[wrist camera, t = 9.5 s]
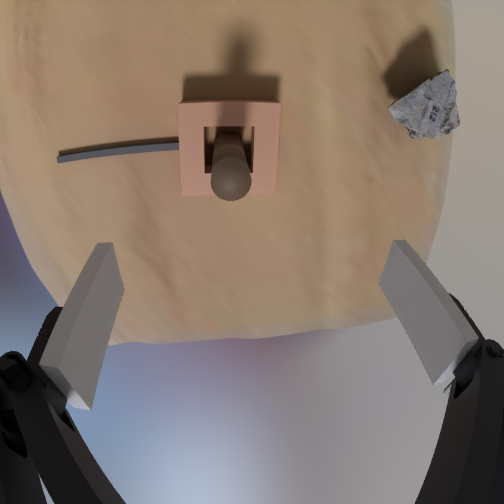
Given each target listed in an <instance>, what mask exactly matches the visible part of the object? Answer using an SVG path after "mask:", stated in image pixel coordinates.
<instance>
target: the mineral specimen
mask: <svg viewBox="0 0 504 504" xmlns="http://www.w3.org/2000/svg"><path fill="white" fill-rule="evenodd" d="M389 112H390V113H391V114H392V115H393V117H394V119H393V121H395V122H397V123H399V124H401V125H404V127H406V128H407V129H408V132H410V134H409V136H410V138H414V139H420V138H422V137H428V138H436V137H442V135H446V134H449V133H450V132H451V130H454V129H456V128H457V126H459V124H460V120H459V119H458V118H459V116H458V110H457V105H456V90H455V81H454V80H453V79H452V77H451V76H450V74H449V70H448V69H447V70H445V71H444V72H440V73H438V74H437V75H436V76H434V77H432V78H429V79H428V80H426V81H424V82H421V84H420V85H419V86H418V87H416V88H414V89H413V90H411V91H410V92H409V93H408V94H406V95H405V96H403V97H401V98H399V99H397V100H396V101H394V102H393V103H392V104H391V105H390V106H389Z"/></svg>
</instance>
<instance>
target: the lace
mask: <svg viewBox="0 0 504 504" xmlns="http://www.w3.org/2000/svg"><path fill="white" fill-rule="evenodd" d="M168 150H179V142H166V143H153V144H141V145H131V146H122V147H113V148H105V149H98V150H91V151H84V152H78V153H71V154H66V155H60V156H58V157H57V162H58V163H62V162H68V161H75V160H81V159H88V158H96V157H103V156H112V155H121V154H130V153H141V152H153V151H168Z"/></svg>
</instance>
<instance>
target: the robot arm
mask: <svg viewBox="0 0 504 504" xmlns="http://www.w3.org/2000/svg"><path fill="white" fill-rule="evenodd" d="M378 284H379V285H380V287H381V289H382V290H383V292H384V294H385V295H386V297H387V299H388V301H389V302H390V304H391V306H392V308H393V309H394V311H395V313H396V315H397V316H398V318H399V320H400V322H401V323H402V325H403V327H404V329H405V331H406V333H407V335H408V337H409V338H410V340H411V342H412V344H413V345H414V348H415V350H416V352H417V354H418V356H419V357H420V360H421V362H422V363H423V366H424V367H425V369H426V372H427V374H428V376H429V378H430V380H431V382H432V384H433V385H435V384H438V383H440V382H444V381H446V380H447V379H448V377H449V376H450V375H451V374H452V373H454V375H455V379H453V381H452V382H451V383H450V384H449V385H448V386H447V387H446V388H445V390H444V392H443V393H444V394H445V393H446V392H447V391H448V390H449V389H450V388H451V390H450V392H449V394H448V395H449V399H448V404H447V408H446V412H445V417H444V420H443V424H442V428H441V432H440V435H439V439H438V442H437V445H436V448H435V452H434V455H433V458H432V461H431V464H430V466H429V469H428V472H427V475H426V477H425V480H424V483H423V485H422V488H421V490H420V492H419V495H418V497H417V500H416V502H415V504H504V349H502V347H501V346H500V345H499V344H498V343H497V342H495V341H494V340H491V339H488V340H485V338H484V337H483V335H482V334H481V332H480V331H479V329H478V328H477V326H476V325H475V323H474V322H473V320H472V319H471V318H470V317H469V315H468V313H467V312H466V310H464V308H463V306H462V305H461V303H460V302H459V301H458V300H457V299H456V298H455V297H454V296H452V295H451V294H450V293H447V291H446V290H445V289H444V287H443V286H442V285H441V283H440V282H439V281H438V279H437V278H436V277H435V275H434V274H433V273H432V272H431V270H430V269H429V268H428V267H427V265H426V264H425V263H424V262H423V260H422V259H421V258H420V257H419V255H418V254H417V253H416V252H415V251H414V249H413V248H412V247H411V246H410V245H409V244H408V242H407V241H406V240H393V243H392V246H391V249H390V252H389V255H388V258H387V261H386V264H385V267H384V270H383V272H382V275H381V278H380V281H379V283H378ZM124 290H125V289H124V286H123V282H122V278H121V275H120V271H119V267H118V263H117V259H116V255H115V251H114V247H113V243H97V245H96V246H95V248H94V250H93V252H92V253H91V255H90V257H89V259H88V260H87V262H86V264H85V266H84V268H83V270H82V271H81V273H80V275H79V277H78V279H77V281H76V283H75V285H74V287H73V289H72V291H71V293H70V295H69V297H68V299H67V301H66V303H65V305H64V307H55V308H54V309H53V310H52V311H51V312H50V313H49V314H48V315H47V316H46V319H45V321H44V323H43V325H42V328H41V329H40V331H39V333H38V334H39V335H38V336H37V338H36V340H35V342H34V345H33V347H32V350H31V352H30V354H29V356H28V359H27V361H26V360H25V358H24V357H23V356H22V354H20V353H19V352H17V351H10V352H7V353H5V354H4V355H2V356H1V357H0V504H47V502H46V498H45V495H44V492H43V489H42V485H41V481H40V478H39V475H40V477H41V479H42V481H43V483H44V485H45V487H46V489H47V491H48V493H49V495H50V496H51V498H52V500H53V502H54V503H55V504H126V503H125V502H124V500H123V499H122V498H121V496H120V495H119V494H118V492H117V491H116V490H115V488H114V487H113V486H112V484H111V483H110V481H109V480H108V478H107V477H106V476H105V474H104V473H103V471H102V470H101V468H100V466H99V465H98V463H97V462H96V460H95V459H94V457H93V455H92V454H91V452H90V451H89V449H88V447H87V445H86V444H85V442H84V440H83V439H82V437H81V435H80V433H79V431H78V430H77V428H76V426H75V424H74V422H73V420H72V418H71V416H70V414H69V412H68V411H67V409H66V408H65V406H66V403H67V400H68V401H69V402H70V403H71V405H72V406H73V407H75V408H80V409H86V410H91V409H92V404H93V400H94V396H95V391H96V387H97V383H98V379H99V374H100V371H101V367H102V363H103V359H104V356H105V351H106V348H107V345H108V341H109V338H110V334H111V331H112V328H113V324H114V321H115V318H116V315H117V312H118V308H119V305H120V302H121V299H122V296H123V293H124ZM38 473H39V474H38Z"/></svg>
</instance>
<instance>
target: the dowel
mask: <svg viewBox="0 0 504 504" xmlns="http://www.w3.org/2000/svg"><path fill="white" fill-rule="evenodd" d="M251 184H252V179H251V175H250V171H249V167H248V164H247V160H246V156H245V153H244V149H243V145H242V142H241V139H240V137H239V136H238V135H237V134H235V133H232V132H224V133H222V134H220V135H219V136H218V137H217V138H216V140H215V145H214V153H213V162H212V172H211V188H212V190H213V192H214V193H215V195H216V196H218V197H219V198H221V199H223V200H227V201H235V200H238V199H241V198H242V197H244V196H245V195H246V194H247V193H248V192H249V190H250V188H251Z"/></svg>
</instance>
